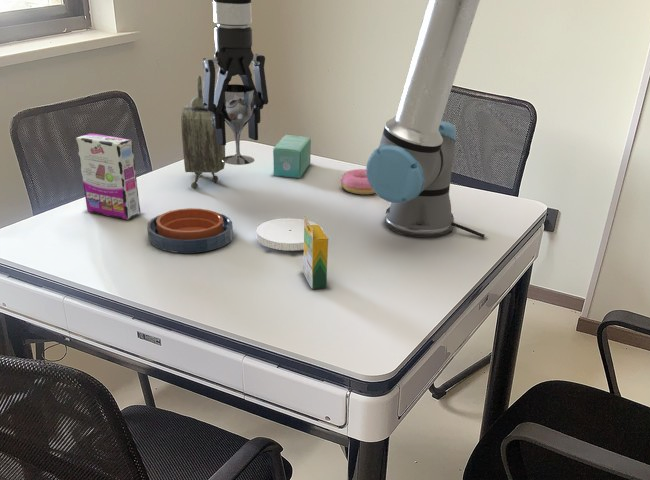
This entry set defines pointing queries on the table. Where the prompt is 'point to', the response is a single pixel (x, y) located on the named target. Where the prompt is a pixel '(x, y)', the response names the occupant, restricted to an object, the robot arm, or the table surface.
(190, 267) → the table surface
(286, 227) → the plastic lid
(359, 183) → the doughnut
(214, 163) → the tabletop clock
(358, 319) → the table surface
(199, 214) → the small bowl
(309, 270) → the crayon box
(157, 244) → the serving bowl
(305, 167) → the box
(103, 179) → the candy bar box
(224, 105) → the wine glass
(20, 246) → the table surface
